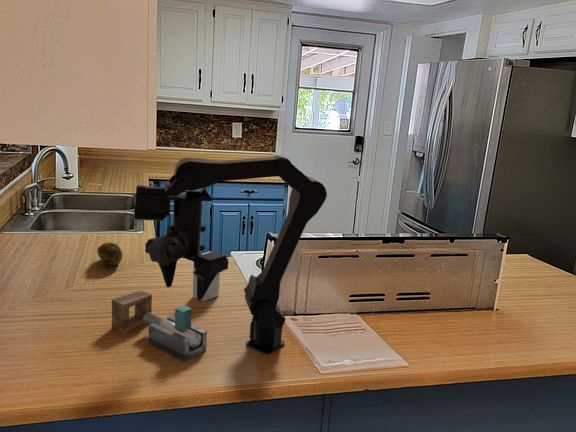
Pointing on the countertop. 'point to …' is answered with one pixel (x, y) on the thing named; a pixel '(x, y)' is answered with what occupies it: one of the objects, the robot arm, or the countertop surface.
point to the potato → (110, 253)
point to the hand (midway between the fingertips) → (184, 293)
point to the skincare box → (212, 290)
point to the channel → (176, 341)
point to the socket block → (121, 310)
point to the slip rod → (176, 324)
